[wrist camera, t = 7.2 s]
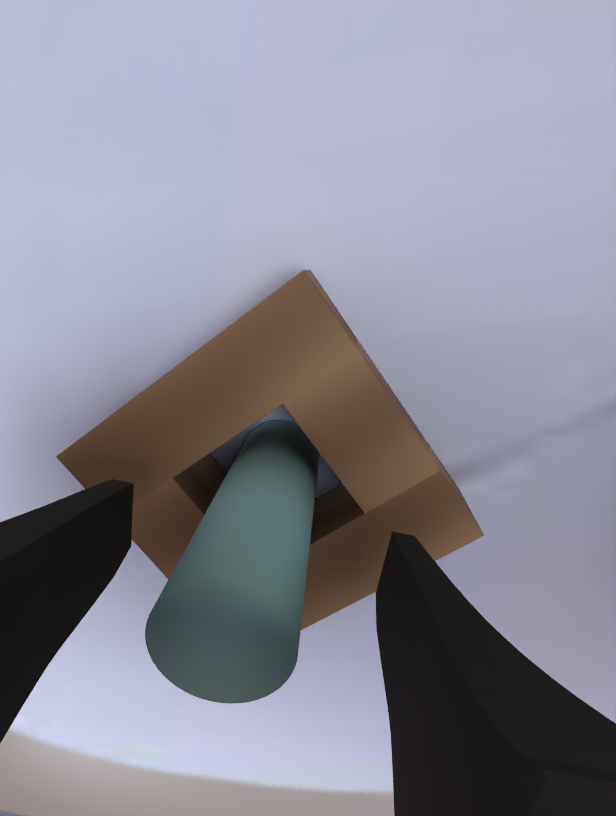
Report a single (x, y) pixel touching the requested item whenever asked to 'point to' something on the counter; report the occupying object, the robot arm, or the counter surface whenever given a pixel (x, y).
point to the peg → (242, 575)
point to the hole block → (319, 419)
